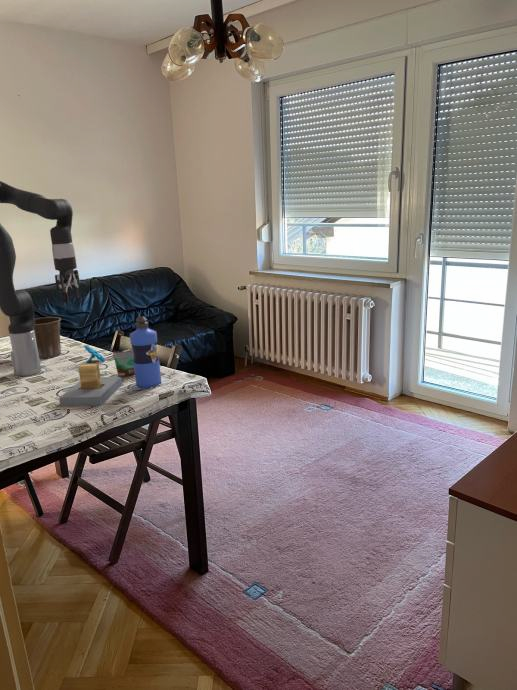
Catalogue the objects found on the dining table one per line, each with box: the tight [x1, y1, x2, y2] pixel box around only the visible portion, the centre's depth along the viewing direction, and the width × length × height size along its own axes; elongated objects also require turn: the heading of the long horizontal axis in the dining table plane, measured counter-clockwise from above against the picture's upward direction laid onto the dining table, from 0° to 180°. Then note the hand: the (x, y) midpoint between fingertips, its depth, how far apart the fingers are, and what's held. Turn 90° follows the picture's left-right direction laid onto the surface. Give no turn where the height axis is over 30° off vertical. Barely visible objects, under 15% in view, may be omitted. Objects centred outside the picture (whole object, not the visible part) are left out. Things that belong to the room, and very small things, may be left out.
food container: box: [112, 347, 135, 378], centre depth 201 cm, size 12×6×10 cm, turn 148°
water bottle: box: [129, 315, 162, 389], centre depth 186 cm, size 9×9×25 cm
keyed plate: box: [58, 376, 123, 407], centre depth 181 cm, size 14×20×3 cm
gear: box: [84, 345, 106, 364], centre depth 221 cm, size 11×6×10 cm
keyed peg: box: [77, 362, 102, 389], centre depth 180 cm, size 3×6×11 cm, turn 84°
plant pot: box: [34, 316, 62, 360], centre depth 234 cm, size 16×16×16 cm
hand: (70, 300), depth 193 cm, fingers open, 8 cm apart
